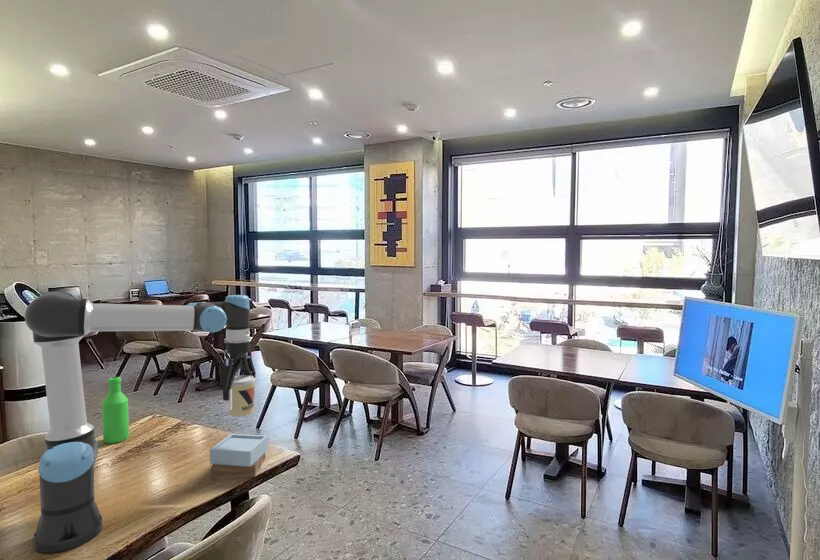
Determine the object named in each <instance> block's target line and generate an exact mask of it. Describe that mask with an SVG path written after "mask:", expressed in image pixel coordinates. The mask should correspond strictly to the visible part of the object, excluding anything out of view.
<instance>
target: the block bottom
mask: <svg viewBox="0 0 820 560" xmlns="http://www.w3.org/2000/svg"><path fill="white" fill-rule="evenodd" d="M266 457H267V456H266V452H265V453H264V454H263V455H262V456H261V457H260V458H259V459H258V460H257V461H256V462H255V463H254V464H253V465H252V466H251V467H249V466H233V465H216V464H211V466H210V467H211V480H220V479H221V480H222V479H223V480H225V479H244V478H245V479H246V478H256V476H257V474H258V473H259V471H260V469H261V467H262V465H263V463H264V461H265V460H266Z"/></svg>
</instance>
